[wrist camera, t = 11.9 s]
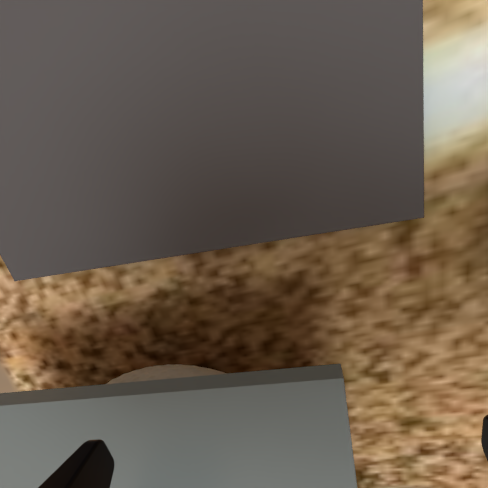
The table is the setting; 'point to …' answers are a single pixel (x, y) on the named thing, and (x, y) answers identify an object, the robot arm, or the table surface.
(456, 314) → the table surface
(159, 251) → the mat
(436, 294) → the table surface
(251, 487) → the lid
